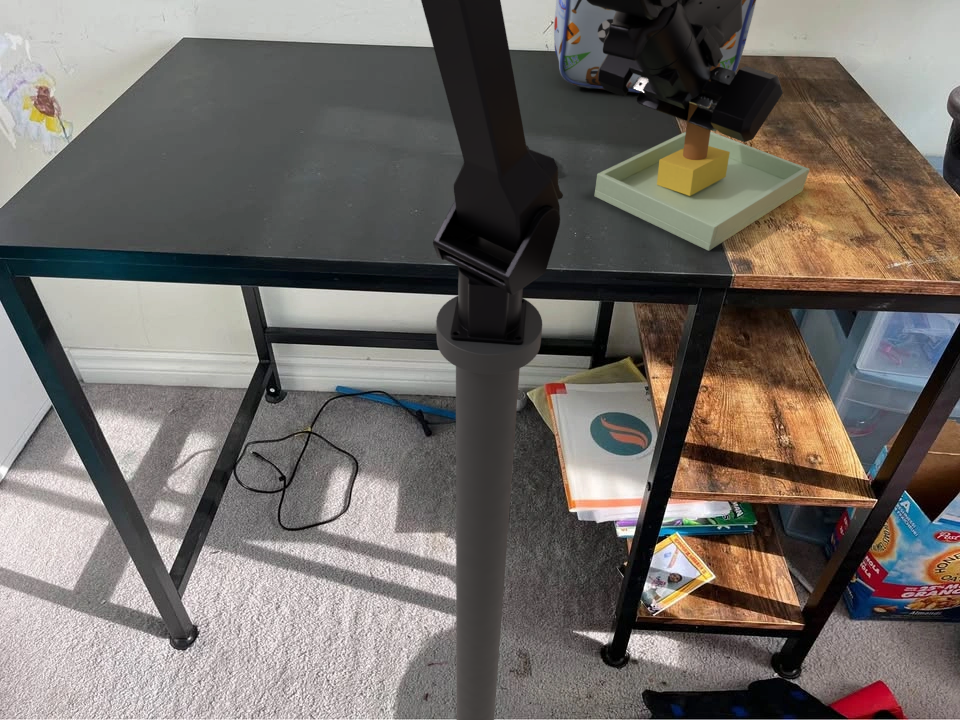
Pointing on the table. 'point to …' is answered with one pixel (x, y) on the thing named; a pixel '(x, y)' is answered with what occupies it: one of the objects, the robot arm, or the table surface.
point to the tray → (703, 191)
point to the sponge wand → (693, 161)
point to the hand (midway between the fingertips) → (705, 123)
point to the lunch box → (587, 29)
